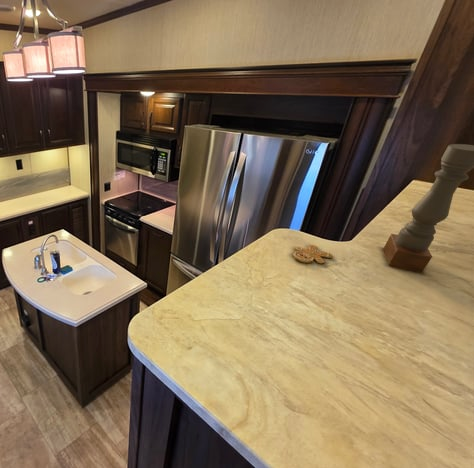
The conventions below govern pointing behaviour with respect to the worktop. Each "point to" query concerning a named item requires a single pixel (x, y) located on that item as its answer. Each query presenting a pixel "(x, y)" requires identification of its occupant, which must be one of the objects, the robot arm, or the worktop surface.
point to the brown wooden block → (405, 256)
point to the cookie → (310, 254)
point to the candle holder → (437, 198)
